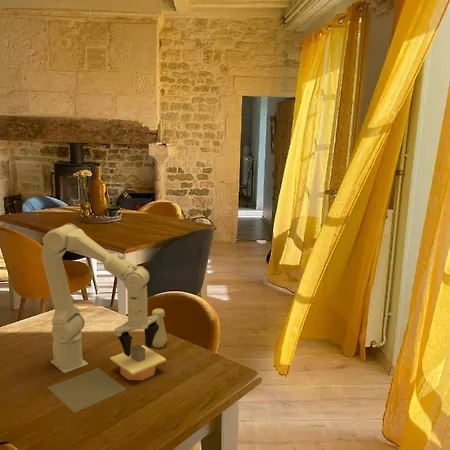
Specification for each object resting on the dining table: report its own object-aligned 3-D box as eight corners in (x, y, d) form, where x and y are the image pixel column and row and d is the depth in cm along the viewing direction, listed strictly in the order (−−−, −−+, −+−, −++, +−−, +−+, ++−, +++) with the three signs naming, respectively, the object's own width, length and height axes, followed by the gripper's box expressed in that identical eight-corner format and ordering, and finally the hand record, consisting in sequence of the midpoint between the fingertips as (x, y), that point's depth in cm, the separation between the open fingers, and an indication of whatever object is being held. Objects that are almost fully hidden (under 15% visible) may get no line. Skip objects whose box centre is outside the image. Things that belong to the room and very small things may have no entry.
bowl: (115, 371, 139) (114, 359, 138) (142, 360, 146) (142, 349, 145) (134, 385, 132) (133, 372, 131) (161, 372, 139) (161, 360, 138)
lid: (110, 359, 138) (109, 346, 137) (143, 346, 146) (143, 335, 145) (132, 375, 130) (132, 361, 129) (166, 360, 138) (166, 348, 137)
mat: (47, 388, 129) (47, 387, 129) (98, 368, 140) (98, 367, 140) (74, 414, 118) (74, 412, 118) (127, 390, 129) (127, 389, 129)
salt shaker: (163, 350, 153) (163, 314, 150) (147, 348, 154) (147, 312, 151) (169, 342, 158) (169, 307, 155) (153, 340, 159) (153, 305, 157)
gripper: (123, 319, 126) (124, 364, 129) (165, 306, 137) (165, 347, 139) (110, 311, 131) (111, 355, 134) (151, 299, 141) (151, 339, 144)
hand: (138, 350), depth 137 cm, fingers open, 7 cm apart
